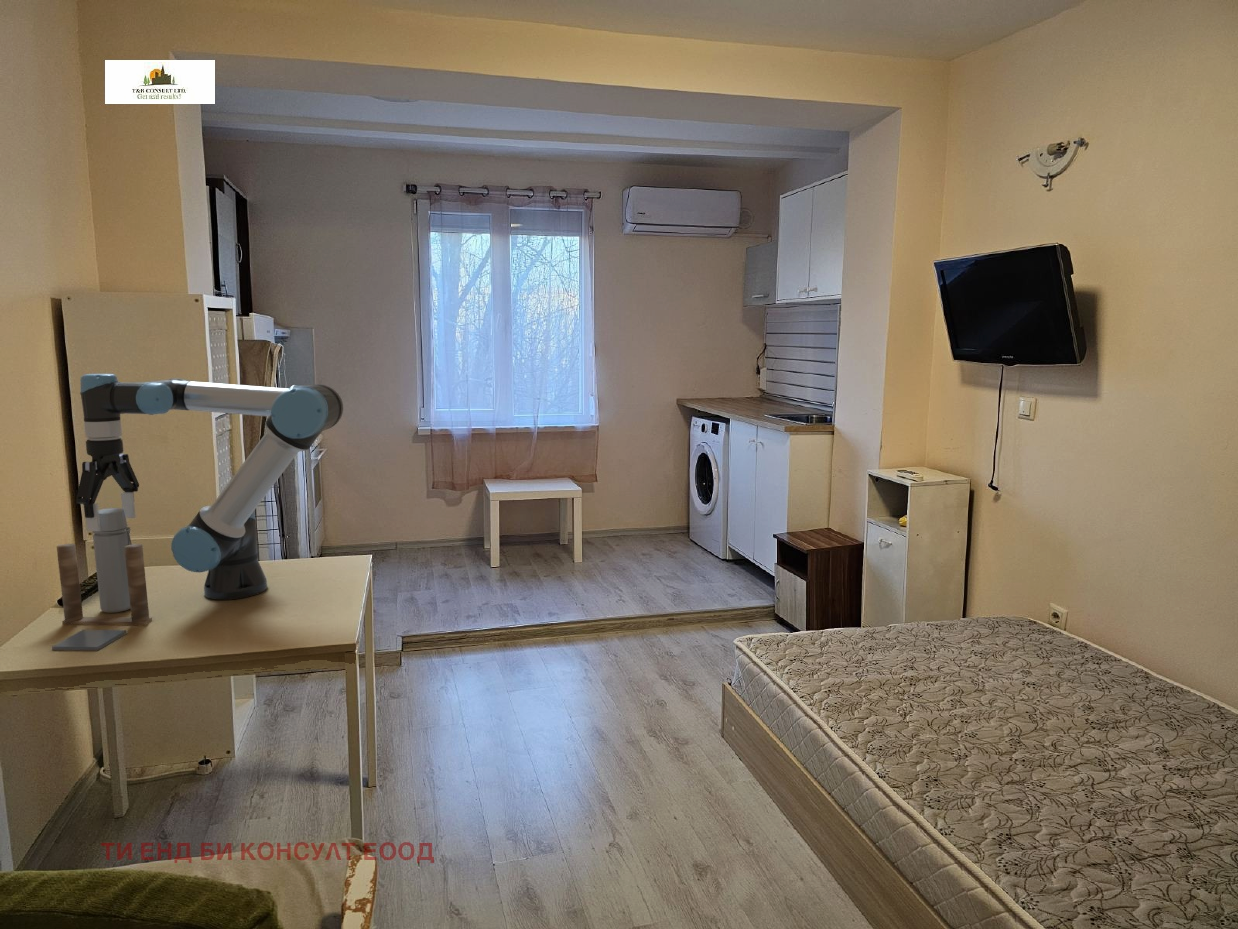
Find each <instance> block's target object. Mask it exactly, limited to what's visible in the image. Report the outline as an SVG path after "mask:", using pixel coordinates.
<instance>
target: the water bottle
mask: <svg viewBox="0 0 1238 929" xmlns="http://www.w3.org/2000/svg"><path fill="white" fill-rule="evenodd" d="M98 512H99V522H100V530H99V531H91V532H92V539H93V551H94V560H95V567H96V568H95V570H96V578H97V579H96V580H97V586H98V587H97V588H98V598H99V599H98V600H99V605H100V606H99V607H100V610H101V611H102V612H103V613H107V614H114V613H115V614H116V613H121V612H125V611H128V610H131V608H130V598H129V588H128V578H127V568H126V558H125V548H124V547H125V546H127V545H133V544H132V539H131V536H130V534H131V530H132V529H131V527H129V526H128V522H127V518H126V517H125V512H124V509H122V507H121V508H119V507H118V508H117V507H116V508H115V507H114V508H103V509H102V508H101V509H98Z"/></svg>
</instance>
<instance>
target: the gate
mask: <svg viewBox="0 0 1238 929" xmlns="http://www.w3.org/2000/svg"><path fill="white" fill-rule="evenodd" d="M143 547H144V545H143V544H140V543H133V544H132V545H127V546H125V547H124V548H125V558H126V568H127V578H128V588H129V598H130V616H131V617H130V616H129V617H126V616H125V617H121V616H115V617H114V616H113V617H109V616H84V611H83V604H82V596H81V594H82V593H81V587H80V586H81V584H80V575H79V568H78V559H77V558H78V557H77V550H76V548H77V547H76V544H75V543H64V544H59V545H57V546H56V553H57V561H58V564H57V565H58V570H59V579H60V588H61V598H62V606H63V616H64V620H62V621H61V622H62V625H75V626H77V625H80V626H81V625H83V626H84V625H85V626H88V625H89V626H90V625H91V626H146V625H147V624H149V623H150V622H152V621H153V617H150V610H149V602H148V590H147V579H146V569H145V560H144V548H143Z"/></svg>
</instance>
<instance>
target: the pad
mask: <svg viewBox="0 0 1238 929" xmlns="http://www.w3.org/2000/svg"><path fill="white" fill-rule="evenodd" d="M125 635H127V630H126V629H82V630H80V631H78V632H76V633H75V634H73V635H71V636H69V637H67V638H65V639H64V640H61V641H60V642H57V643H56V644H54V645H53V646H51V650H52V651H89V652H90V651H91V652H92V651H94V652H95V651H97V652H98V651H100V650H102V649H103V648H105V647H106V646H108V645H110V644H111V643H113V642H115V641H117V640H118V639H120V638H122V637H123V636H125Z"/></svg>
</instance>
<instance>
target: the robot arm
mask: <svg viewBox="0 0 1238 929" xmlns="http://www.w3.org/2000/svg"><path fill="white" fill-rule="evenodd" d="M79 394H80V396H81V397H80V398H81V406H82V413H83V414H82V415H83V426H84V437H85V438H87V439H86V441H85V446H86V447H85V448H86V454H87V455H88V456H90V457H91V461H83V462H82V465H81V467H82V468H81V471H82V472H81V475H80V480H79V484H78V489H77V494H76V497H75V503H76V504H79V505H83V511H84V517H85V524H86V531H87V532H92V531H99V530H100V522H99V512H98V510H99V504H98V503H96V501H97V498H98V496H99V494H100V490H101V488H102V485H103V483H104V481H106V480H107V478H109V477H112V478H113V479H114V480H115V482H116V483H117V485H119V487H120V488H121V490H122V492H120V499H121V509H124V512H125V517H126V519H135V518H136V509H135V494H134V493H135V492H136V493H137V492H138V491H139V488H140V483H139V481H138V478H137V476H136V475H135V471H134V470H133V467H132V465H131V462H130V456H129V454H128V453H124V443H123V439H122V438H121V437H122V436H123V429H122V422H121V421H122V419H121V415H123V414H127V415H129V414H131V415H135V414H136V415H151V416H153V415H163V414H164V415H165V414H167V413H168V412H170V410H172V411H173V410H177V411H193V412H194V411H195V412H209V413H220V414H231V415H232V414H233V415H247V416H260V417H268V418H267V420H266V421H265V422H264V423H265V424H264V425H265V428H266V429H265V430H266V432H265V433H264V435H263V436H262V437H261V438H260V440H259V441H258V443H257V444H256V445H255V447H254V448H253V449H252V451H251V452H250V454H249V455H248V456H247V457H246V459H245V460H244V461H243V462H242V464H241V466H240V467H239V468H238V470H237V471H236V473H235V474H234V475H233V477H231V478H230V480H229V482H227V484H226V486H225V487H224V489H223V490H222V491H221V493H219V495H218V497H217V498H216V499H215V500H214V502H213V503H212V504H211V505H205V506H203V507H201V508H200V509H199V511H198V512H197V513H196V514H195V516H194V517H193V519H192V520H191V522H190V523H189V524H188V525H187V526H185V527H182V528H181V529H180V530H178V531H177V532H176V534H175V535H174V536H173V537H172V539H171V545H170V546H171V552H172V554H173V555H172V556H173V558H174V560H175V562H176V563H177V564H178V565H179V566H180V567H182V568H183V569H184V570H186V571H189V572H191V573H205V572H207V575H206V578H205V582H204V586H203V592H204V597H205V598H207V599H210V600H211V599H212V600H221V601H223V600H224V601H225V600H227V601H228V600H237V599H243V598H249V597H252V596H255V595H259V594H261V593H263V592H265V591H266V590H267V588H268V582H267V581H268V580H267V578H266V575H265V573H264V571H263V568H262V566H261V564H260V561H259V557H258V556H259V555H258V539H257V525H256V524H257V523H256V521H257V518H256V516H255V511H256V509H257V507H258V506H259V505H260V503H261V502H262V501H263V500H264V498H265V497H266V496H267V494H268V493H269V492H270V490H271V489H272V488H273V487H274V485H275V484H276V483H277V481H278V479H279V478H280V477H281V476H282V474H283V473H284V472H285V471H286V469H287V468H288V467H289V465H290V464H291V462H292V461H293V460H294V459H295V457H297V454H298V453H299V452H307V451H308V450H309V449H310V448H311V446H312V445H313V444H314V443H315V441H316V440H317V439H318V438H319V436H320V435H321V434H322V432H324V431H327V430H329V429H332V428H333V427H334V426H336V425H337V424H338V423H339V422H340V420H341V419H342V417H343V414H344V404H343V400H342V398H341V396H340V395H339V393H338V392H337V391H336V390H335V389H334V388H333V387H331V386H328V385H325V384H320V383H319V384H318V383H317V384H316V383H315V384H311V385H306V384H305V385H301V384H293V385H292V386H290V387H289V388H288V387H287V388H286V387H276V386H275V387H273V386H262V385H261V386H259V385H247V384H233V383H220V382H219V383H218V382H205V381H196V380H195V381H194V380H192V381H191V380H186V379H183V378H169V379H163V380H154V381H144V382H141V381H140V382H122V381H121V382H120V381H118V377H117V375H116V374H113V373H87V374H83V375H81V377H80V393H79Z"/></svg>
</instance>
